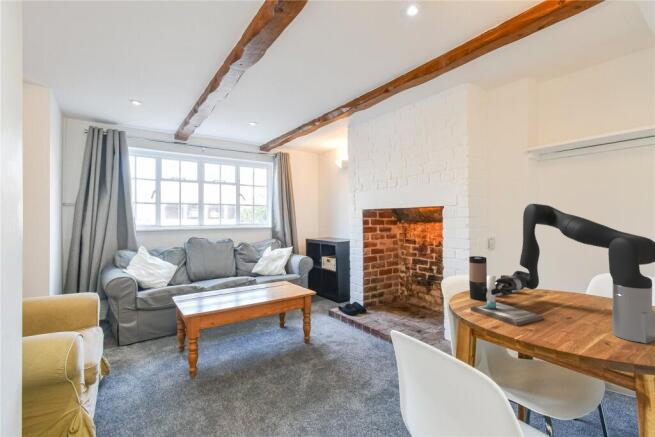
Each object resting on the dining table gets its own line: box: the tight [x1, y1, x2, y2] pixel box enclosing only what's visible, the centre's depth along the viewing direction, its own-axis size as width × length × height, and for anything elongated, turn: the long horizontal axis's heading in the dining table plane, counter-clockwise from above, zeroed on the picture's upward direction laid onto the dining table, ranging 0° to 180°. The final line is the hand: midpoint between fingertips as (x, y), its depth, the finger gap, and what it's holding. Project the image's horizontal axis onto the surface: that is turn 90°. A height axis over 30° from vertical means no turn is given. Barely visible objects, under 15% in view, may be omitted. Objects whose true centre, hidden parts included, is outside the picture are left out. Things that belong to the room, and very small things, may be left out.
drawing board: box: [470, 301, 544, 327], centre depth 124 cm, size 20×16×2 cm
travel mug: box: [468, 255, 488, 301], centre depth 147 cm, size 8×8×20 cm
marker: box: [486, 274, 497, 309], centre depth 126 cm, size 3×3×13 cm
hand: (487, 291), depth 125 cm, fingers closed on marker, 3 cm apart
